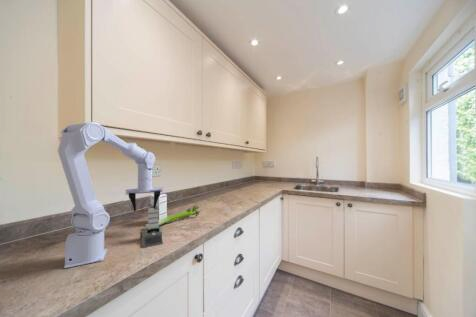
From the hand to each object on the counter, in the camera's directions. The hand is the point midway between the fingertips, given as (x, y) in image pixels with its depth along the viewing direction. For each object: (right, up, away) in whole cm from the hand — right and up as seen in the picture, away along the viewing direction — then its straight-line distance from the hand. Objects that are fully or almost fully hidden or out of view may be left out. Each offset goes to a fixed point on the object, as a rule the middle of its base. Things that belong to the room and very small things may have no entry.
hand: (144, 209), depth 81 cm
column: (+6, -7, -6) cm, 11 cm away
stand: (+5, -10, -5) cm, 13 cm away
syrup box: (0, -11, +13) cm, 17 cm away
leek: (+8, -11, +14) cm, 20 cm away
